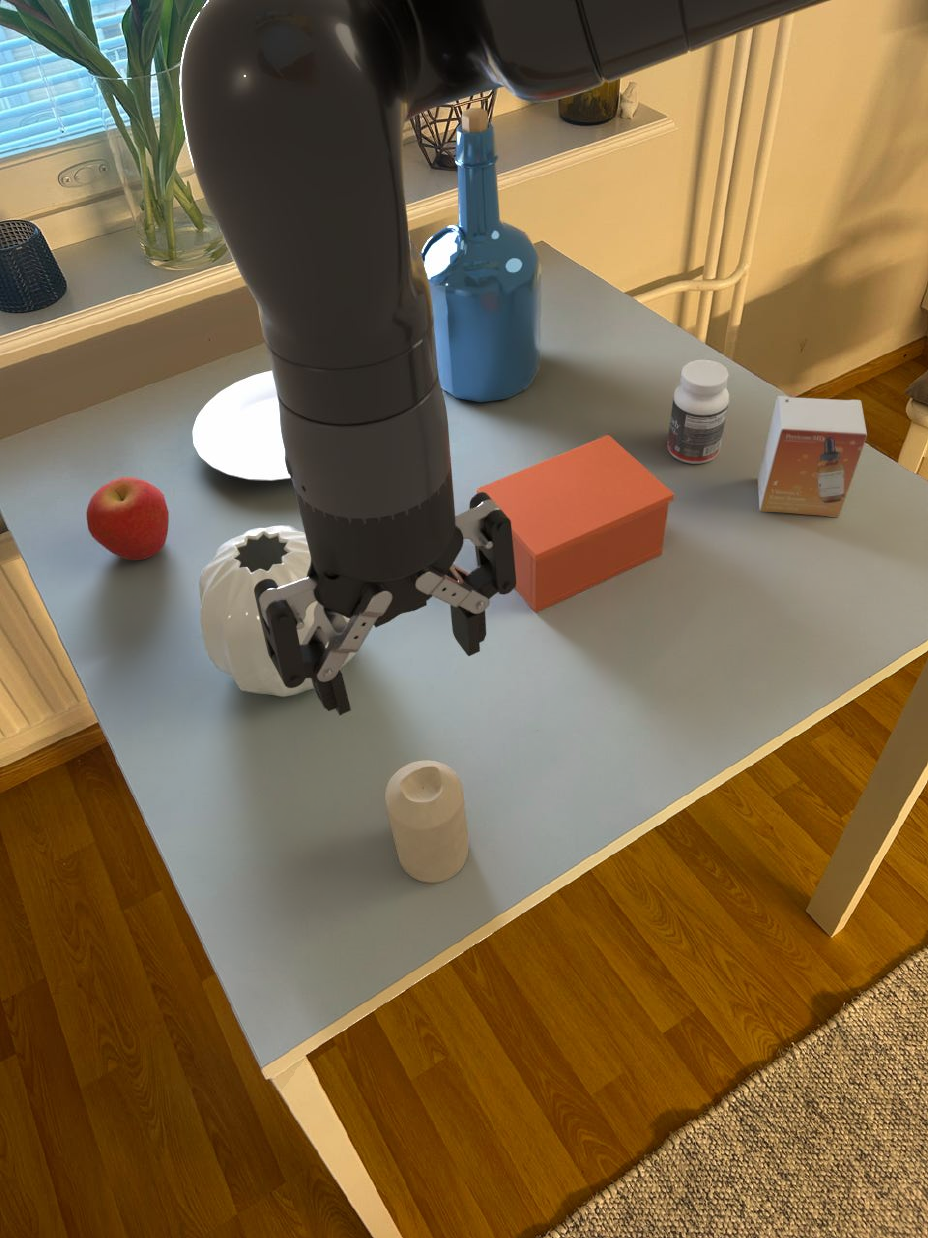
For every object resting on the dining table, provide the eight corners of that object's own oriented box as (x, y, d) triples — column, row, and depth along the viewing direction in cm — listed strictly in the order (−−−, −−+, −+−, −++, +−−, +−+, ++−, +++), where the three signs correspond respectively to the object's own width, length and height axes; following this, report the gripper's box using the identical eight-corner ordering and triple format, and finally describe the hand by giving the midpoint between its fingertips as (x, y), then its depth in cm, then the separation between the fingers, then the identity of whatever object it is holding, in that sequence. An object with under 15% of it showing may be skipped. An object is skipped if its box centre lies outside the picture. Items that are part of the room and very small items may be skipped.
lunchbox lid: (608, 440, 93) (608, 434, 93) (673, 500, 87) (674, 493, 86) (476, 494, 89) (476, 488, 88) (535, 561, 83) (535, 555, 82)
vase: (223, 608, 90) (185, 504, 80) (366, 593, 91) (346, 488, 81) (210, 724, 81) (165, 623, 71) (370, 708, 81) (347, 605, 71)
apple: (95, 575, 94) (66, 518, 88) (114, 522, 100) (88, 465, 94) (171, 572, 94) (147, 514, 88) (186, 519, 99) (164, 461, 93)
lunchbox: (600, 494, 98) (603, 442, 93) (661, 554, 92) (669, 502, 87) (479, 546, 94) (476, 495, 89) (535, 613, 88) (535, 562, 83)
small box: (758, 513, 95) (778, 428, 87) (756, 477, 99) (775, 393, 91) (840, 518, 94) (869, 434, 86) (835, 482, 97) (862, 398, 90)
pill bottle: (666, 431, 104) (676, 354, 97) (718, 434, 104) (732, 356, 96) (666, 464, 101) (677, 387, 93) (720, 467, 100) (735, 389, 93)
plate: (412, 444, 105) (410, 428, 104) (244, 522, 98) (239, 506, 97) (324, 363, 117) (321, 347, 116) (169, 427, 110) (163, 411, 109)
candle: (435, 806, 75) (424, 735, 67) (483, 849, 72) (478, 781, 64) (383, 851, 72) (366, 783, 65) (431, 898, 70) (419, 833, 62)
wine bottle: (511, 333, 119) (506, 76, 97) (559, 386, 111) (566, 120, 89) (412, 362, 116) (383, 104, 94) (454, 419, 108) (434, 152, 86)
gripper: (255, 565, 39) (319, 772, 51) (542, 450, 43) (539, 667, 56) (199, 468, 44) (270, 679, 56) (464, 372, 48) (477, 588, 60)
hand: (404, 673), depth 56 cm, fingers open, 8 cm apart
